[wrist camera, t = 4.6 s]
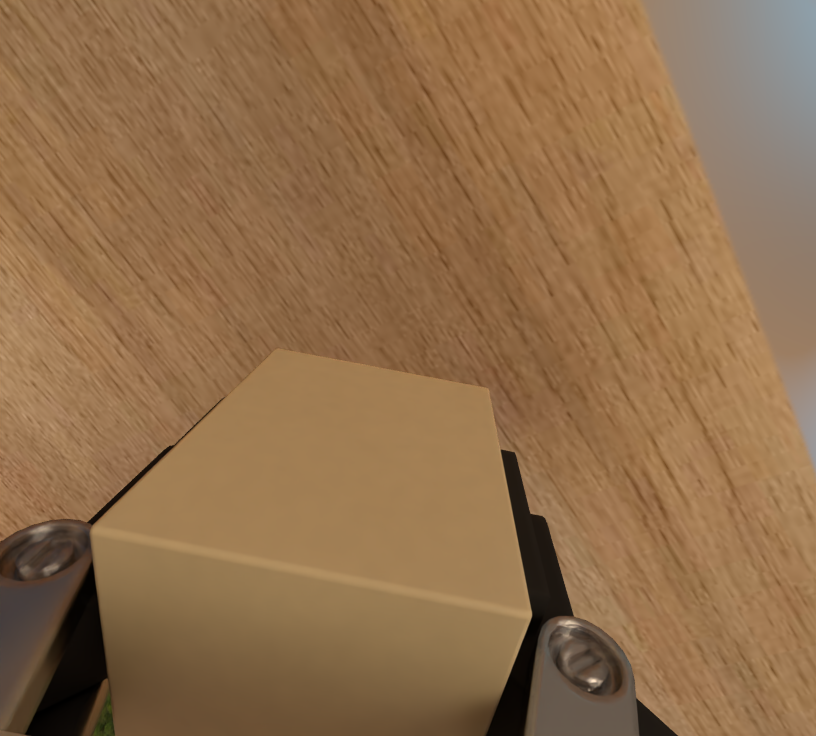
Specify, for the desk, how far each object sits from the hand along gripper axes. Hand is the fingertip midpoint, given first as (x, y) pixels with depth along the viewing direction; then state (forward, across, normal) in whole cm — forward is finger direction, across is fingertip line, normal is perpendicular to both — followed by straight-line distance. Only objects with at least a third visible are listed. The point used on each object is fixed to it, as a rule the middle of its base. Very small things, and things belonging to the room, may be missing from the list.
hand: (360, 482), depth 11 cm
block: (+1, 0, 0) cm, 1 cm away
